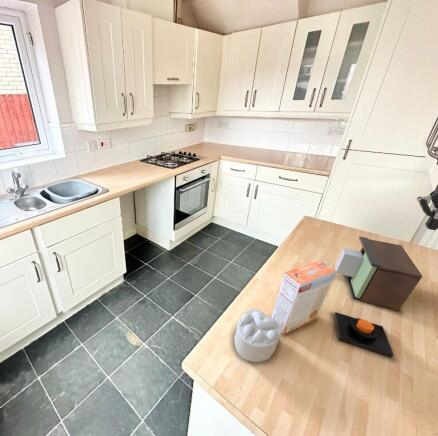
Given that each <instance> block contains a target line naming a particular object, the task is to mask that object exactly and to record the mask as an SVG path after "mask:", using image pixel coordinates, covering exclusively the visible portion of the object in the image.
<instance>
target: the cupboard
mask: <svg viewBox="0 0 438 436" xmlns="http://www.w3.org/2000/svg"><path fill="white" fill-rule="evenodd" d="M358 239H359V241H360V244H361V248H360V250H359V252H361V253H362V255H363V256H364V254H365V253H366V255H367V258H368V260H369V262H370V264H371V266H374V267H377V269H376V271H375V272H374V274H373V276H372V278H371V279H370V281H369V283H368V285H367V287H366V288H365V290H364V292H363V294H362V295H361V297H360V298H356V297H355V293H354V290H353V287H352V284H351V279H352V277H351V276H347V275H345V277H346V280H347V282H348V287H349V290H350V294H351V297H352V300H354V301H359V302H362V303H366V304H368V305H372V306H376V307H380V308H383V309H388V310H391V311H394V312H399V311H400V310H401V309H402V307H403V305H404V304H405V303H406V301H407V300H408V298H409V297H410V295H411V294H412V293H413V291H414V290H415V288H416V287H417V286H418V284H419V282H420V281H421V279H423V275H422V273H421V272H420V270H419V268H418V267H417V265H415V263H414V261H413V260H412V258H411V257H410V256H409V254H408V253H407V251H406V249H405V248H404V246H403V245H402V244H397V243H392V242H387V241H381V240H375V239H371V238H369V237H364V236H359V237H358Z"/></svg>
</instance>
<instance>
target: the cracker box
mask: <svg viewBox="0 0 438 436" xmlns="http://www.w3.org/2000/svg"><path fill="white" fill-rule="evenodd" d="M336 272H337V271H336V270H335V268H332V267H331V266H329V265H328V264H325V263H324V262H322V261H321V260H315V261H313V262H309V263H307V264H304V265H302V266H298V267H296V268H293V269H289V270H287V271H284V272H283V275H282V279H281V282H280V284H279V288H278V292H277V295H276V298H275V301H274V305H273V308H272V311H271V316H270V317H271V318H273V319H275V320H277V321H278V322H279V323H280V325H281V327H282V333H281V334H283V335H285V334H288V333H290V332H292V331H294V330H297V329H299V328H301V327H303V326H306V325H308V324H310V323H312V322H314V321H316V320H317V317H318V315H319V313H320V310H321V308H322V306H323V304H324V301H325V299H326V297H327V294H328V292H329V291H330V288H331V285H332V283H333V281H334V279H335V277H336V274H337V273H336Z"/></svg>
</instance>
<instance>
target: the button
mask: <svg viewBox="0 0 438 436" xmlns="http://www.w3.org/2000/svg"><path fill="white" fill-rule="evenodd" d="M360 319H361V320H359V321H358V322H357V324H356V326H357V328H358V329H359V330H361V331H362V332H364V333H367V334H370V333H372V331H373V330H374V326H373V325H372V324H371V323H372V322H370V321H368V320H366V319H363V320H362V318H360Z"/></svg>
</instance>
